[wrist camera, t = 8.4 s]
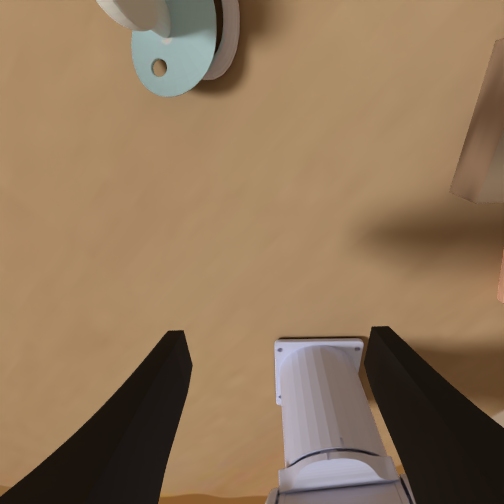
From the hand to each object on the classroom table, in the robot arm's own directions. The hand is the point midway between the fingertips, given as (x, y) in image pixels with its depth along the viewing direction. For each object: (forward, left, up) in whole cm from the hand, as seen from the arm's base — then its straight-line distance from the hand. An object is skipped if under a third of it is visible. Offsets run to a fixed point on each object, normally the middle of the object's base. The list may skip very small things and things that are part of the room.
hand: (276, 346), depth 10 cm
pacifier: (+13, +4, -11) cm, 17 cm away
